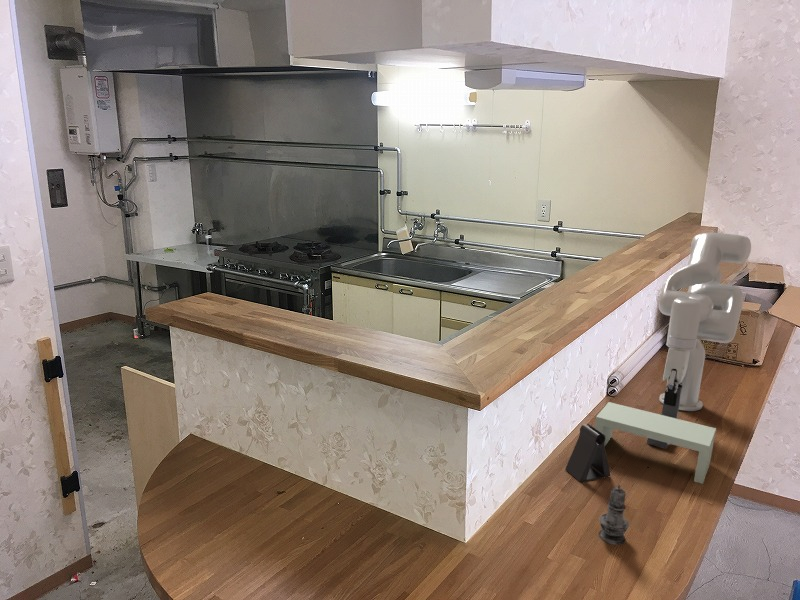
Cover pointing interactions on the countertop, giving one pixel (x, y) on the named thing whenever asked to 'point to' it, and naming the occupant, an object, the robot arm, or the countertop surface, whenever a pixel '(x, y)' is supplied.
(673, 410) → the gray l-shaped block
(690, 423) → the low shelf
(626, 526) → the grey tall tapered piece
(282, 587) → the countertop surface
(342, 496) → the countertop surface
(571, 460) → the black wedge-shaped stand
